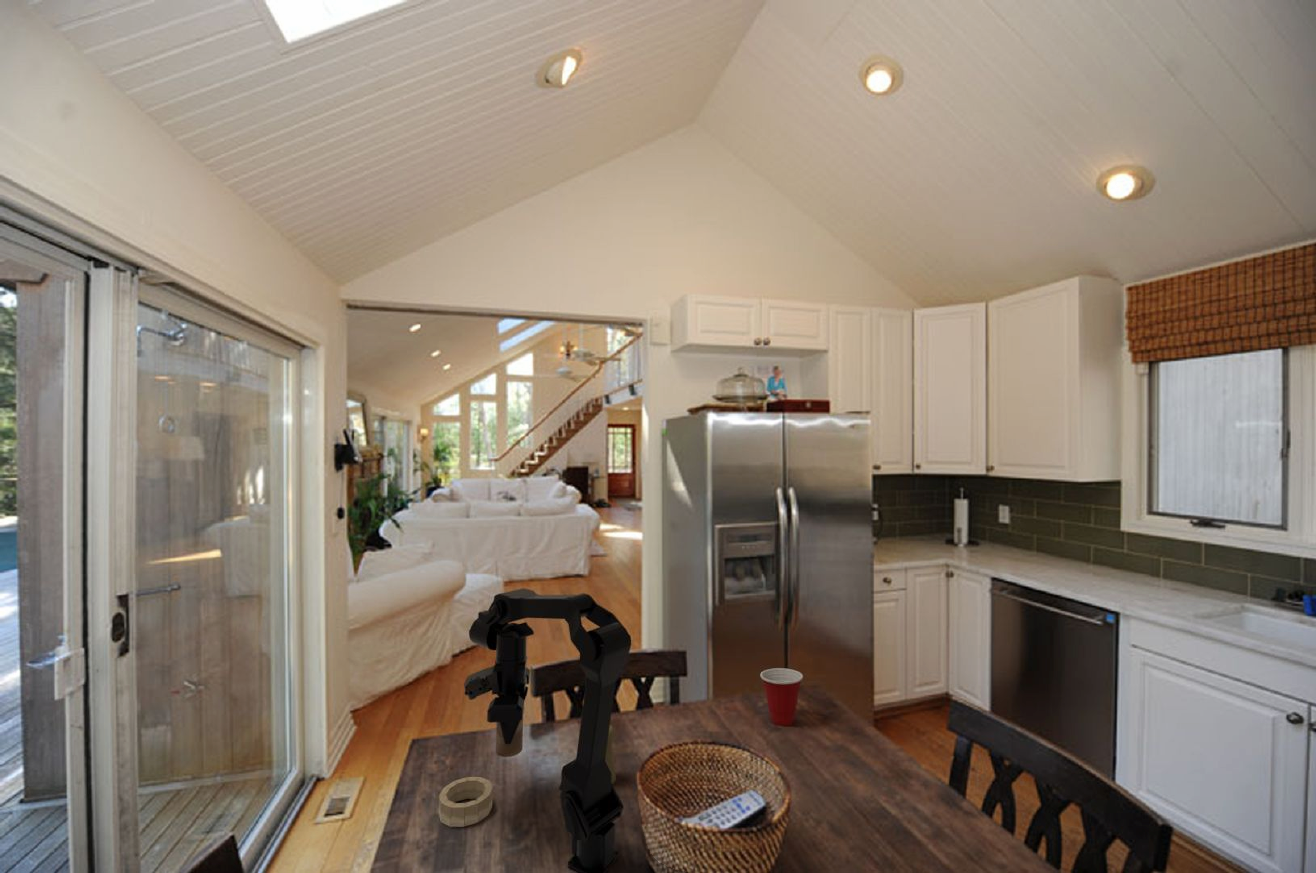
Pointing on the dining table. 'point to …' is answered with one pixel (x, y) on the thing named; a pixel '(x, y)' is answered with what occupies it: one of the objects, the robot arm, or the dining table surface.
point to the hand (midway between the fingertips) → (509, 736)
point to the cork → (610, 754)
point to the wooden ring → (469, 811)
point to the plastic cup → (781, 694)
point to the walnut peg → (515, 745)
